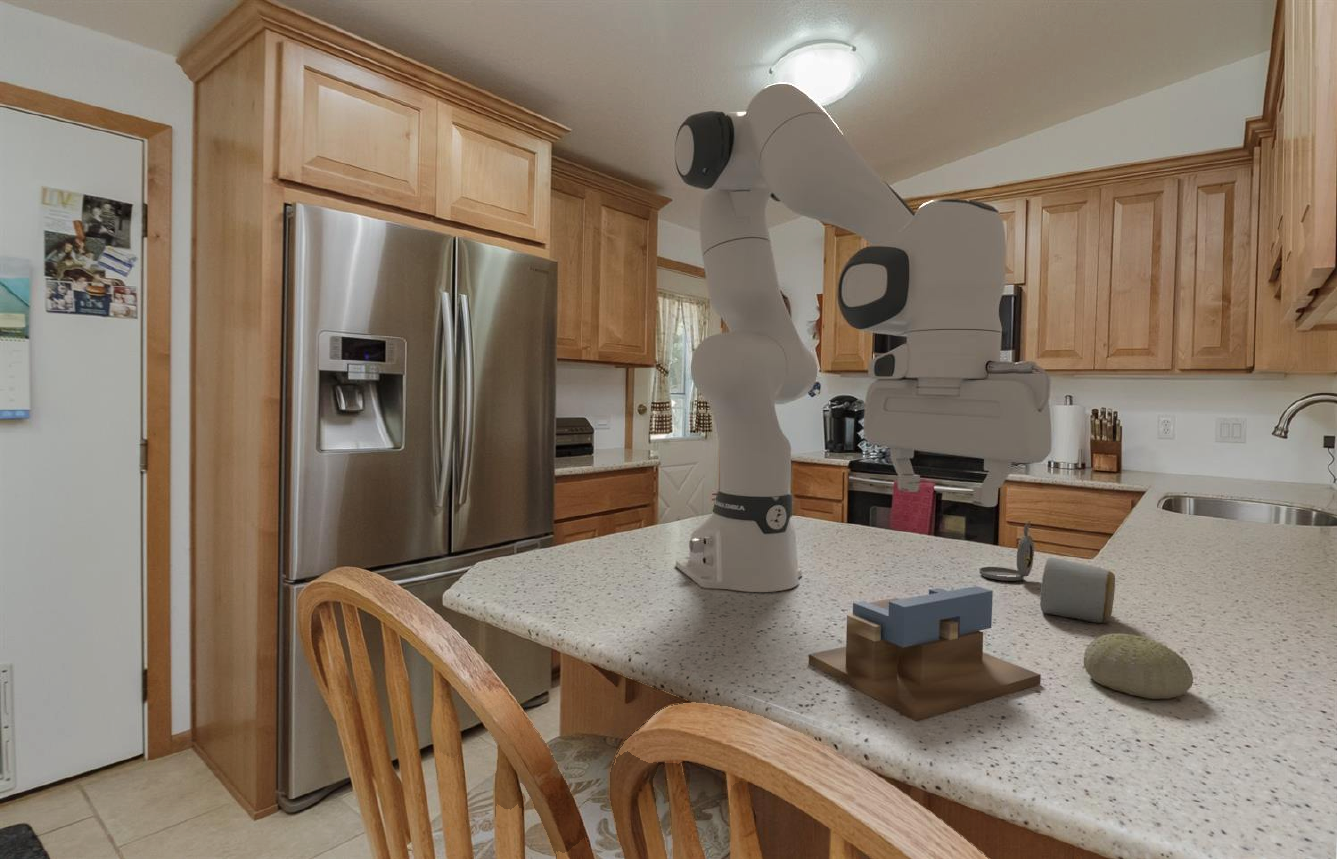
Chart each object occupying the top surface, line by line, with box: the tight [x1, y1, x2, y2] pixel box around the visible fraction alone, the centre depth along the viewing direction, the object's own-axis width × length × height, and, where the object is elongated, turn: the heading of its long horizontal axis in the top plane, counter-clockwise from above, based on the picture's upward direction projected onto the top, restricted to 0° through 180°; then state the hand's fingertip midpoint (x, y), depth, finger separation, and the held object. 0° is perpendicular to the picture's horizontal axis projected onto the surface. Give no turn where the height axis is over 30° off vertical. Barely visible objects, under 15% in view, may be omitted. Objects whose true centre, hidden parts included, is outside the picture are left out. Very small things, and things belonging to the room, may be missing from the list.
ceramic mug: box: [1039, 556, 1116, 623], centre depth 94 cm, size 11×8×8 cm
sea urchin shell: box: [1083, 632, 1194, 700], centre depth 71 cm, size 9×8×8 cm
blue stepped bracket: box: [852, 585, 994, 648], centre depth 72 cm, size 7×13×4 cm, turn 118°
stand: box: [808, 597, 1042, 722], centre depth 73 cm, size 15×18×7 cm
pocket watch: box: [978, 520, 1035, 582], centre depth 112 cm, size 8×8×10 cm
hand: (944, 498), depth 70 cm, fingers open, 8 cm apart
